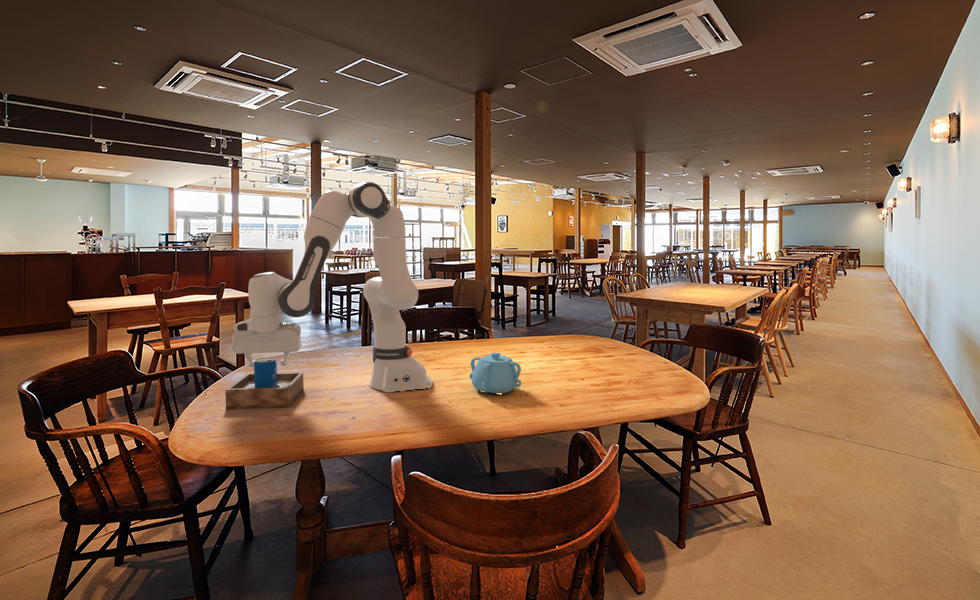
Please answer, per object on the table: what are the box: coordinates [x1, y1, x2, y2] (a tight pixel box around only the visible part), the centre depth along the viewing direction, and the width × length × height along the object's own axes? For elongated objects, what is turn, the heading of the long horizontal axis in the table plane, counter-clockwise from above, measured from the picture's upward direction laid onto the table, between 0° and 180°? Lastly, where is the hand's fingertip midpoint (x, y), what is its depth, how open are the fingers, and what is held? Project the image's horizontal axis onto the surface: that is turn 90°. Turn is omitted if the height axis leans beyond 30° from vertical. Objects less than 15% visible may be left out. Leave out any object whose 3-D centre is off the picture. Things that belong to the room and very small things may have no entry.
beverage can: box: [253, 357, 278, 388], centre depth 148 cm, size 6×6×12 cm
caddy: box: [224, 372, 305, 410], centre depth 149 cm, size 18×18×6 cm
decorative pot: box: [469, 351, 522, 394], centre depth 163 cm, size 16×16×14 cm
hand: (268, 365), depth 148 cm, fingers open, 8 cm apart
